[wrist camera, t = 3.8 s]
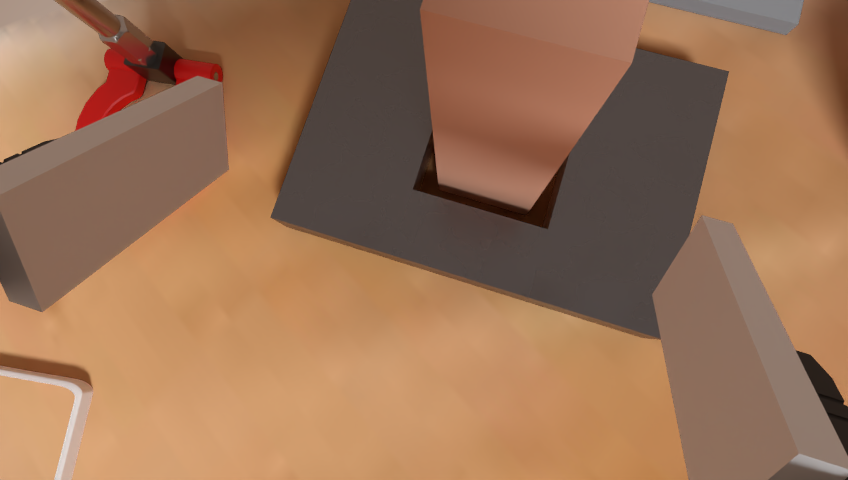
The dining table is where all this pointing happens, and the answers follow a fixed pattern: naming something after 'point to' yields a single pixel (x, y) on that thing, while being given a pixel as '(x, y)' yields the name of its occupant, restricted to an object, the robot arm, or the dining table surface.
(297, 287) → the dining table surface
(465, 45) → the peg
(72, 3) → the tow hook
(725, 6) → the pad
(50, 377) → the phone case
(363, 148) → the socket block
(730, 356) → the robot arm
